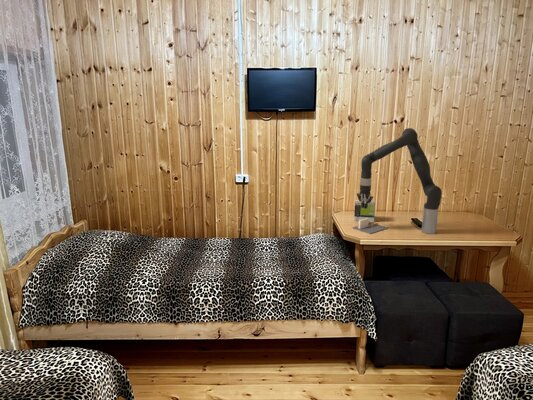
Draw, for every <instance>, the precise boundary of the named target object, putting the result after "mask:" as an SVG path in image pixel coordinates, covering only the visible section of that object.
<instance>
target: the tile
mask: <svg viewBox="0 0 533 400" xmlns="http://www.w3.org/2000/svg"><path fill="white" fill-rule="evenodd" d="M368 220H369V219H368V218H364V219H361V220H358V221H357V222H358V223H357V226H358V228H359V229H361V228H365V227H368Z"/></svg>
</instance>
